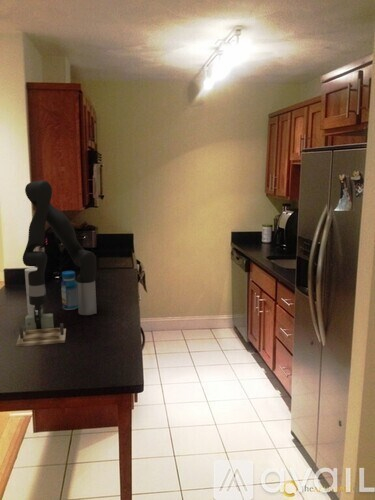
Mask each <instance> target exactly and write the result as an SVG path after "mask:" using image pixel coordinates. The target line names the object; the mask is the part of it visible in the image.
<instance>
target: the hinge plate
mask: <svg viewBox="0 0 375 500" xmlns="http://www.w3.org/2000/svg"><path fill="white" fill-rule="evenodd" d="M66 334H67V328H64V323H63V322H61V323H59V327H54V328H48V329H35V330H26V329H25V331H24V327H23V326H19V335H18V337H17V342H16V345H15V347H16V348H17V347H18V348H20V347H28V346H40V345H41V346H42V345H52V344H53V345H54V344H64V343H66Z"/></svg>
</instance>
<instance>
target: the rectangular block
mask: <svg viewBox="0 0 375 500" xmlns="http://www.w3.org/2000/svg"><path fill="white" fill-rule="evenodd" d="M24 320H25V331H26V330H35V329H36V323H35V318H34V315H28V314H26V315H25V318H24ZM37 320H39V318H37ZM48 328H55V327H54V313H43V314H42V318H41V329H48Z"/></svg>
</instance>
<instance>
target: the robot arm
mask: <svg viewBox="0 0 375 500" xmlns="http://www.w3.org/2000/svg"><path fill="white" fill-rule="evenodd" d="M24 191H25V192H24V193H25V195H26V197H27V200H29V202H31V204H32V205H33V206H34V207H35V208H36V209H35V212H34V214H33V217H32V219H31V221H30V223H29V227H28V238H27V244H26V246H25V249H24V252H23V255H22V262H23V264H24V266H26V267H33V268H34V267H36V268H37V270H36V271H32V272H30V273H29V274H28V282H29V303H30V304H31V305H34V306H35V307H34V318H35V323H36V329H41V318H42V314H44V306H43V305H45V304H46V303H47V289H46V283H45V271H46V266H47V263H48V255H47V254H46V252H45V251H39V250H35V249H36V248H37V247H42V246H43V245H44V244H45V234H46V225H49V227H50V229H51V230H52V231H53V233H54V235H55V236H56V237H57V238H58V240H59V241H60V243H61V244H62V245H63V247H64V248H65V250H66V251H67V253H68V254H69V256H70V258H71V260H72V262H73V263H74V265H75V266H76V267H78V268H80V269H79V270H80V271H79V272H80V273H79V274H78V275H76V282H77V297H78V308H77V309H78V311H77V313H78V315H80V316H81V315H82V316H92V315H95V314H98V313H97V296H96V276H97V257H96V255H95V253H94V252H92V251H89V250H86V249H84V248H83V246H82V245H81V244H80V243H79V240H78V239H77V235H76V230H75V227H74V226H73V224H72V223H71V221H70V219H69V218H68V217H67V215H65V214H64V213H63V212H62V211H60V210H59V209H57V208H56V207H54V206H53V205H52V203H51V200H52V196H53V188H52V185H51V183H50V182H48V181H46V180H36V181H32V182H29V183H27V184H26V185H25V188H24ZM46 223H47V224H46ZM37 318H39V320H37Z"/></svg>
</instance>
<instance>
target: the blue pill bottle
mask: <svg viewBox="0 0 375 500" xmlns="http://www.w3.org/2000/svg"><path fill="white" fill-rule="evenodd" d="M61 278H62V281H61V284H60V286H61V290H60V292H61V303H62V304H61V305H62V307H61V308H62V309H63V310H65V311H72V310H76V309H78V293H77V280H76V272H75V271H74V270H66V271H62V272H61Z"/></svg>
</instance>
